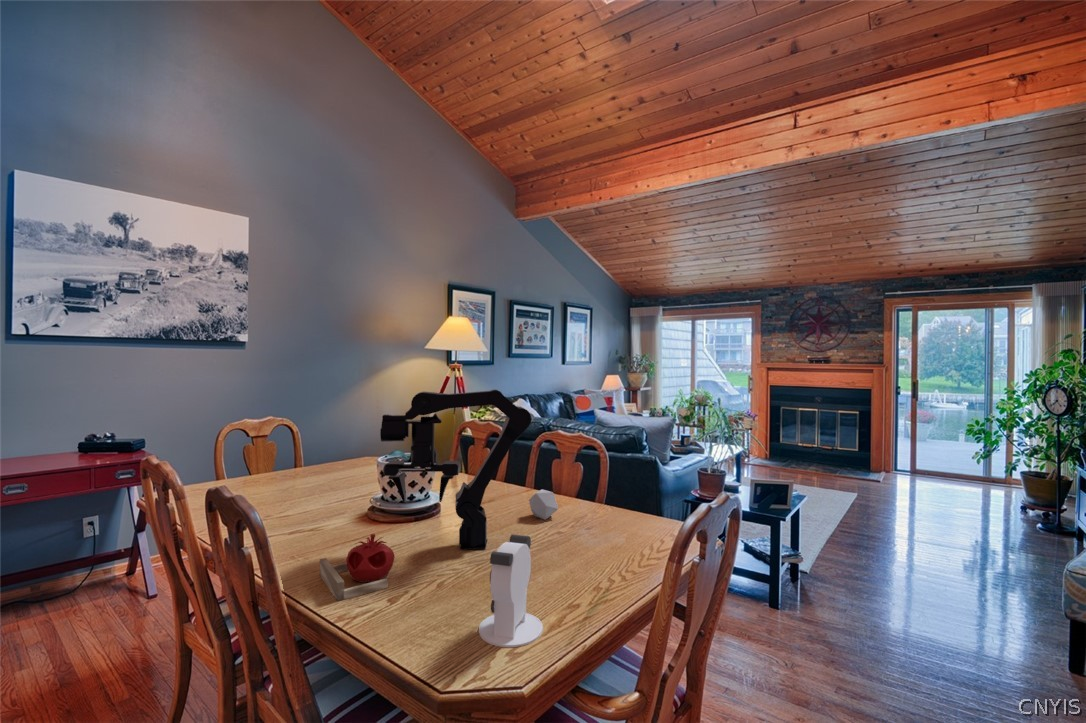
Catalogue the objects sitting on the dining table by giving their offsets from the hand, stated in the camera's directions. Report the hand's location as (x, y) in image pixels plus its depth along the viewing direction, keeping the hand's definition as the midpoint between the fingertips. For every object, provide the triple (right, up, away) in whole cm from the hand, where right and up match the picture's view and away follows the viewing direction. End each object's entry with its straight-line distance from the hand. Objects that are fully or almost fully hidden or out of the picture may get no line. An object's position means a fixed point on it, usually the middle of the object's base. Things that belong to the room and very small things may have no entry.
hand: (422, 501), depth 126 cm
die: (+31, -13, +27) cm, 43 cm away
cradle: (-10, -12, -19) cm, 25 cm away
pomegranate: (-7, -12, -17) cm, 22 cm away
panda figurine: (+25, -12, -38) cm, 47 cm away
